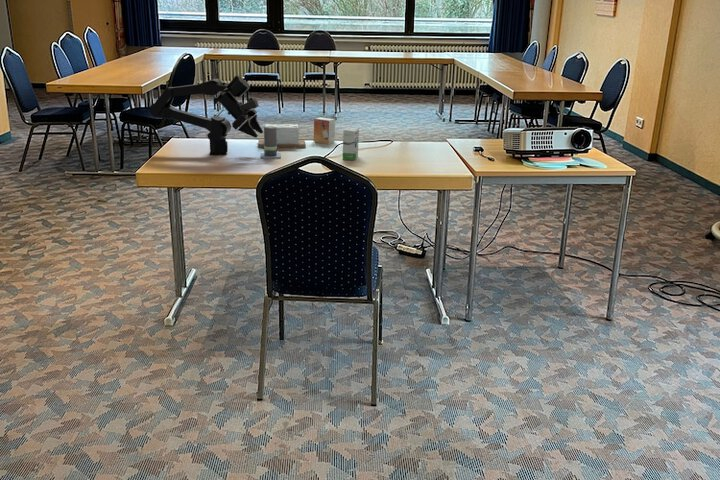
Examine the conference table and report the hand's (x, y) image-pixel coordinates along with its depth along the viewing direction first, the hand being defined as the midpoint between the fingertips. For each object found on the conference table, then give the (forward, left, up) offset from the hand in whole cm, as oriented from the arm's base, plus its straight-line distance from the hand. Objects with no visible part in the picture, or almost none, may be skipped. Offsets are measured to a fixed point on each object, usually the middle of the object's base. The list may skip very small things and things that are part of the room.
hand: (259, 134), depth 275 cm
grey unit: (+9, +21, -8) cm, 24 cm away
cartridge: (+4, -1, -8) cm, 9 cm away
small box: (+28, +29, -9) cm, 41 cm away
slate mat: (+4, -1, -8) cm, 10 cm away
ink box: (+36, -3, -9) cm, 37 cm away
